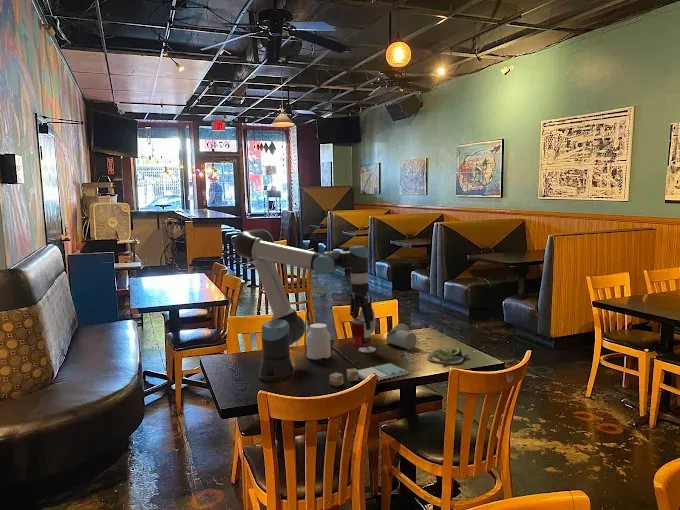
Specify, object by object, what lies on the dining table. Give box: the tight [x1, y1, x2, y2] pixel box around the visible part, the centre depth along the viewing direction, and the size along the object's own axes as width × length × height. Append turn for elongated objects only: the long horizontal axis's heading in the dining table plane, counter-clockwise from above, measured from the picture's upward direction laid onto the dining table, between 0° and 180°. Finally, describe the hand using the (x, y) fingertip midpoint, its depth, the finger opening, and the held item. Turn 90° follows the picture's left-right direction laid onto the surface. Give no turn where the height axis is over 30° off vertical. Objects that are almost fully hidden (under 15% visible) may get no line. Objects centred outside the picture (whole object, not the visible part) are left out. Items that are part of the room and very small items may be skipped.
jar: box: [305, 323, 332, 360], centre depth 244 cm, size 12×10×15 cm
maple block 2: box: [346, 368, 359, 382], centre depth 213 cm, size 4×4×4 cm
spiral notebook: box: [357, 362, 410, 382], centre depth 220 cm, size 20×14×1 cm
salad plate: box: [426, 346, 469, 365], centre depth 237 cm, size 19×18×5 cm
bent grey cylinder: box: [385, 322, 418, 351], centre depth 263 cm, size 18×10×20 cm
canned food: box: [351, 317, 372, 349], centre depth 218 cm, size 8×8×11 cm
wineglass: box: [357, 308, 377, 354], centre depth 251 cm, size 9×9×21 cm
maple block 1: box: [328, 372, 344, 388], centre depth 208 cm, size 4×4×4 cm
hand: (362, 334), depth 218 cm, fingers closed on canned food, 8 cm apart
